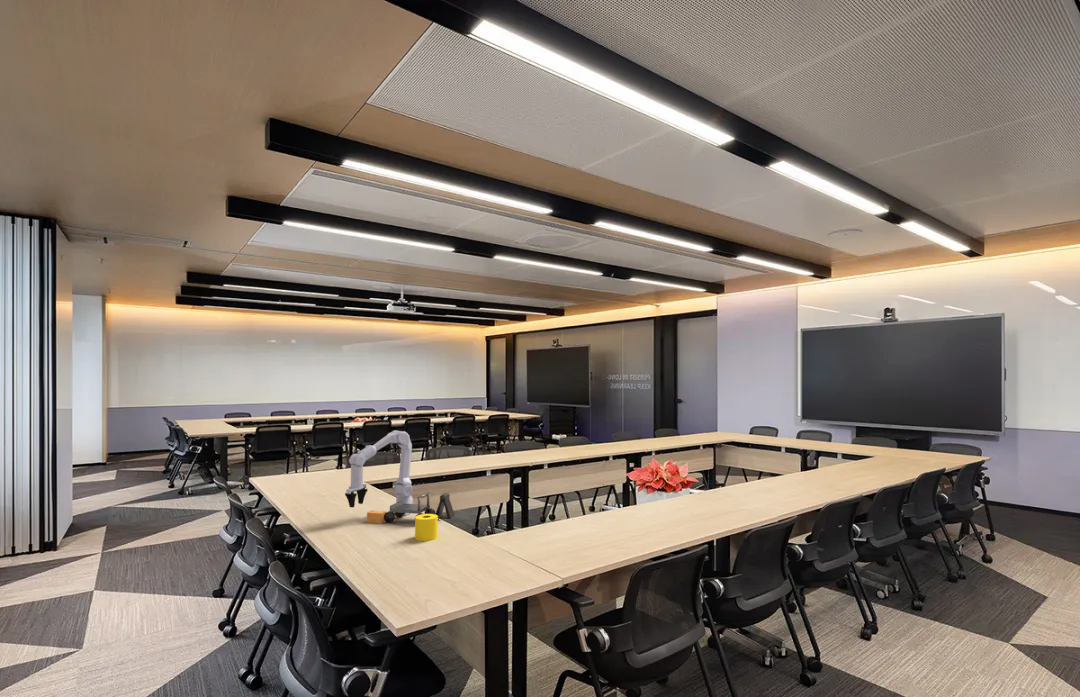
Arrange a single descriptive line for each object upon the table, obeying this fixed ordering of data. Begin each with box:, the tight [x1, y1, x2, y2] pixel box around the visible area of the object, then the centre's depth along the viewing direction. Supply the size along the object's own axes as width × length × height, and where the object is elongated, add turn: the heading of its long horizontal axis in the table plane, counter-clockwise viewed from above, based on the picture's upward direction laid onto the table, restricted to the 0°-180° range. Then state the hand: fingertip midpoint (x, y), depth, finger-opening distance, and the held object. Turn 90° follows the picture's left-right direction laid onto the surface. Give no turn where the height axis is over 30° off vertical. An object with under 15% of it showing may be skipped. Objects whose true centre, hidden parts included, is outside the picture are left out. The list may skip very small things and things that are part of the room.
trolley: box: [384, 492, 436, 524], centre depth 275 cm, size 12×22×14 cm, turn 75°
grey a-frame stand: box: [435, 492, 456, 520], centre depth 282 cm, size 9×6×12 cm, turn 78°
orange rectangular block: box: [366, 510, 387, 524], centre depth 274 cm, size 4×8×5 cm, turn 77°
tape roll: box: [414, 513, 439, 542], centre depth 246 cm, size 10×10×9 cm
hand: (356, 505), depth 273 cm, fingers open, 7 cm apart
